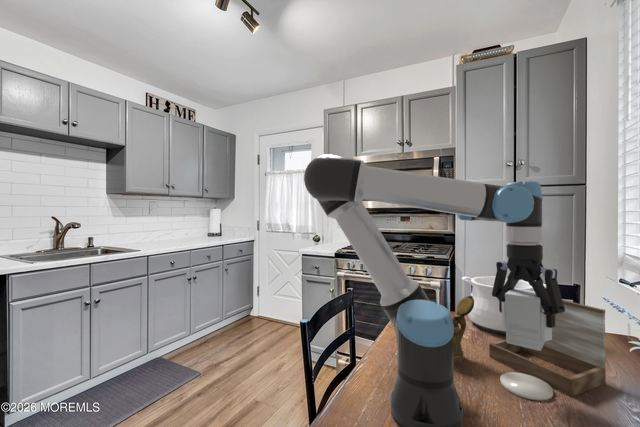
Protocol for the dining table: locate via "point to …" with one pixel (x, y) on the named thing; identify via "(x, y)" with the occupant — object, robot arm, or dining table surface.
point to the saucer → (526, 386)
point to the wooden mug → (462, 310)
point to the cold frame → (565, 351)
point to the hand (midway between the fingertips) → (525, 332)
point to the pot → (489, 303)
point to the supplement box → (523, 319)
